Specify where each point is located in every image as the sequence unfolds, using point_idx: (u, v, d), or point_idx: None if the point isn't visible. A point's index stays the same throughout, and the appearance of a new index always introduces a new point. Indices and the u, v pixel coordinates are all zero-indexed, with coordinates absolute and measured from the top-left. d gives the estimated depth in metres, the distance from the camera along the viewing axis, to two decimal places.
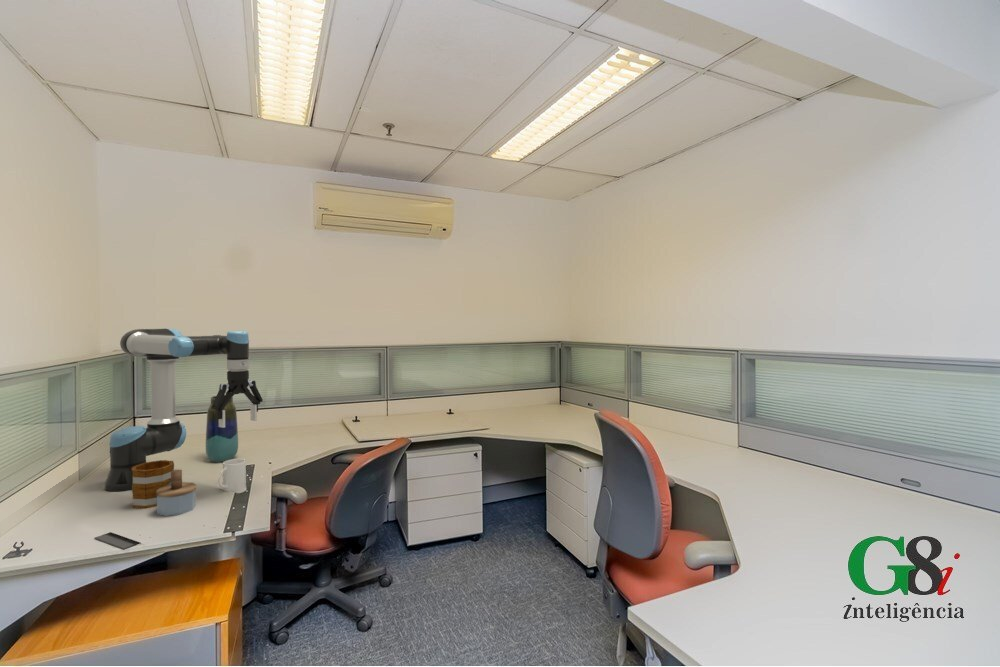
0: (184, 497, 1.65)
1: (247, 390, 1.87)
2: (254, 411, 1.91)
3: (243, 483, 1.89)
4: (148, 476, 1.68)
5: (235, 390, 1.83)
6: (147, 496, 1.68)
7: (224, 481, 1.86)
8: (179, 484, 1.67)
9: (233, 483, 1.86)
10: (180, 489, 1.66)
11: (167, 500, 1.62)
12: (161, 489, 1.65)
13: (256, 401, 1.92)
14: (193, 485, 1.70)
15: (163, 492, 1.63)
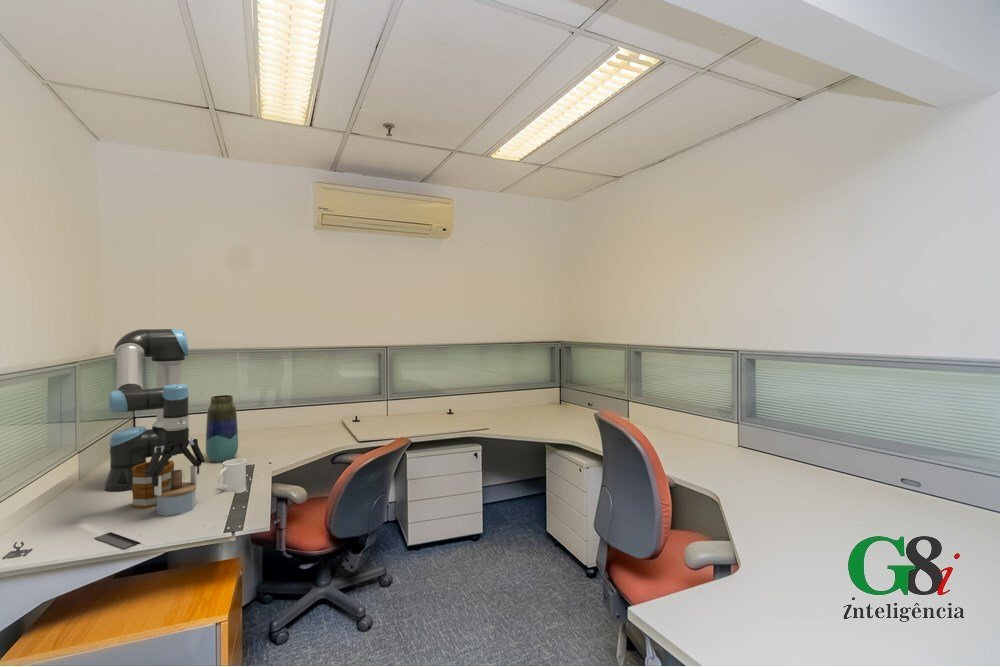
0: (184, 497, 1.65)
1: (186, 450, 1.68)
2: (194, 474, 1.72)
3: (243, 483, 1.89)
4: (148, 476, 1.68)
5: (172, 452, 1.64)
6: (147, 496, 1.68)
7: (224, 481, 1.86)
8: (179, 484, 1.67)
9: (233, 483, 1.86)
10: (180, 489, 1.66)
11: (167, 500, 1.62)
12: None
13: (197, 462, 1.72)
14: (193, 485, 1.70)
15: (163, 492, 1.63)
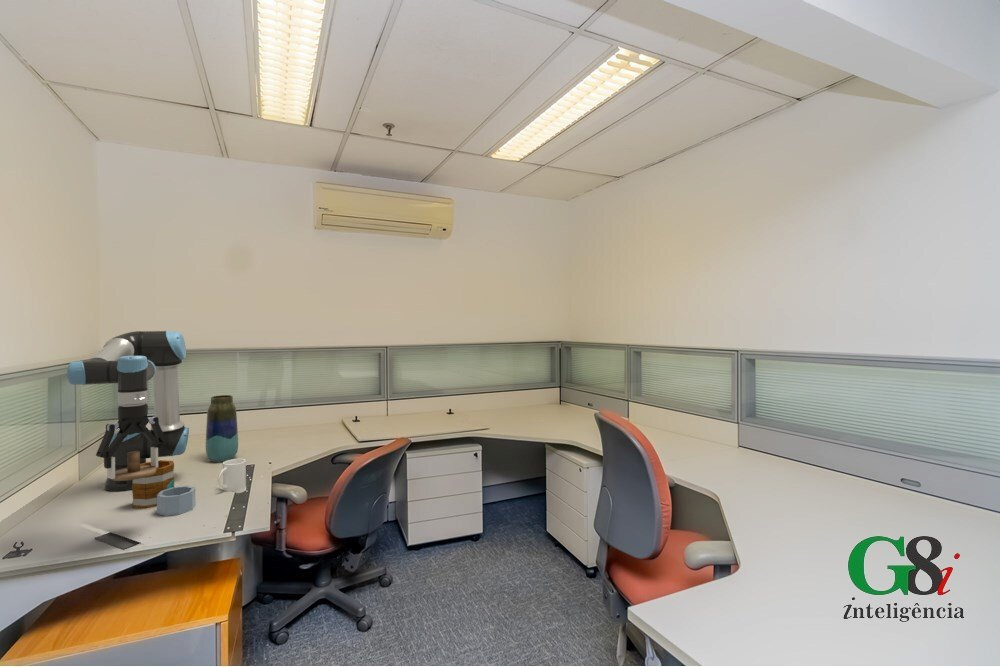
0: (184, 497, 1.65)
1: (145, 429, 1.51)
2: (155, 456, 1.55)
3: (243, 483, 1.89)
4: (148, 476, 1.68)
5: (128, 430, 1.47)
6: (147, 496, 1.68)
7: (224, 481, 1.86)
8: (137, 467, 1.49)
9: (233, 483, 1.86)
10: (138, 472, 1.49)
11: (167, 500, 1.62)
12: (116, 472, 1.48)
13: (157, 443, 1.55)
14: (153, 468, 1.53)
15: (117, 475, 1.46)
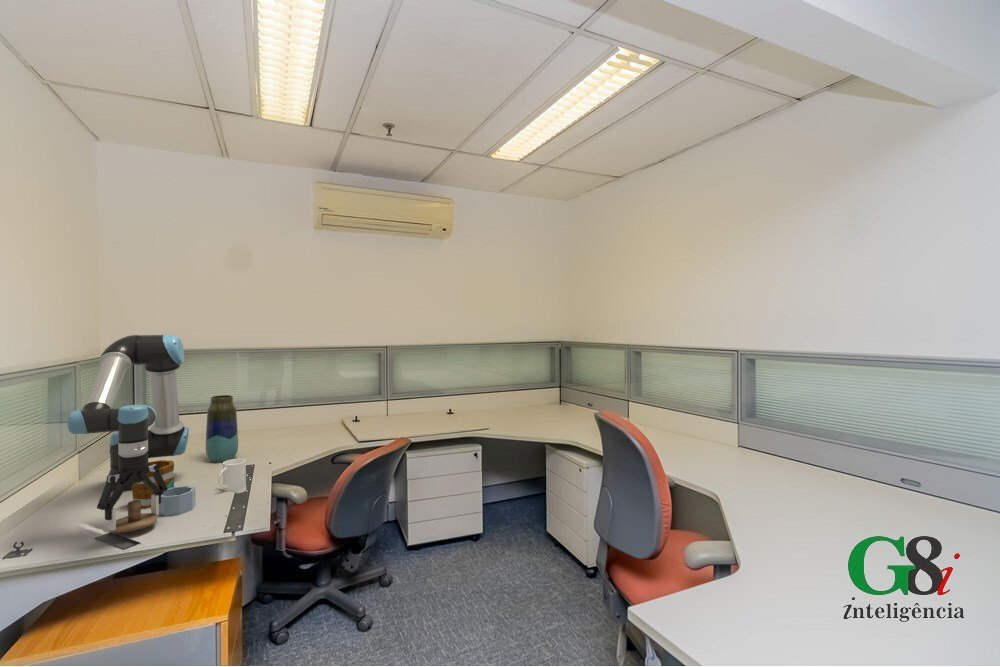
0: (184, 497, 1.65)
1: (146, 478, 1.52)
2: (155, 504, 1.55)
3: (243, 483, 1.89)
4: (148, 476, 1.68)
5: (128, 481, 1.47)
6: (147, 496, 1.68)
7: (224, 481, 1.86)
8: (137, 517, 1.50)
9: (233, 483, 1.86)
10: (138, 522, 1.49)
11: (167, 500, 1.62)
12: (117, 522, 1.49)
13: (158, 491, 1.56)
14: (153, 517, 1.53)
15: (118, 526, 1.46)
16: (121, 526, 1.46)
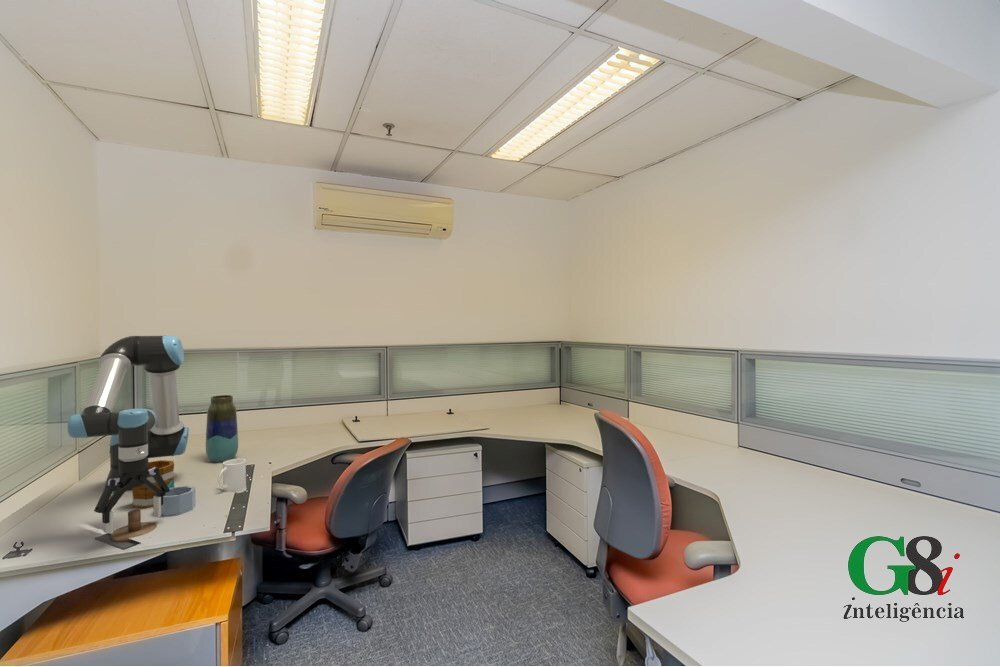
0: (184, 497, 1.65)
1: (146, 482, 1.52)
2: (157, 505, 1.56)
3: (243, 483, 1.89)
4: (148, 476, 1.68)
5: (128, 484, 1.47)
6: (147, 496, 1.68)
7: (224, 481, 1.86)
8: (137, 526, 1.50)
9: (233, 483, 1.86)
10: (138, 531, 1.49)
11: (167, 500, 1.62)
12: (117, 532, 1.49)
13: (160, 492, 1.56)
14: (153, 526, 1.53)
15: (118, 536, 1.46)
16: (121, 536, 1.46)
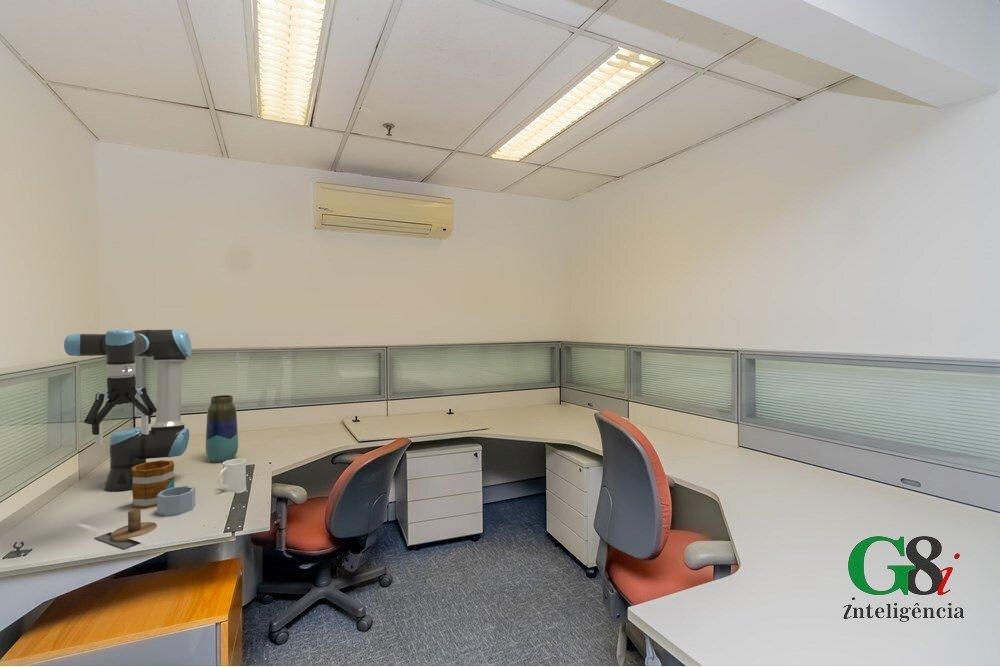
0: (184, 497, 1.65)
1: (134, 399, 1.59)
2: (145, 423, 1.63)
3: (243, 483, 1.89)
4: (148, 476, 1.68)
5: (116, 400, 1.54)
6: (147, 496, 1.68)
7: (224, 481, 1.86)
8: (137, 526, 1.50)
9: (233, 483, 1.86)
10: (138, 531, 1.49)
11: (167, 500, 1.62)
12: (117, 532, 1.49)
13: (148, 411, 1.64)
14: (153, 526, 1.53)
15: (118, 536, 1.46)
16: (121, 536, 1.46)
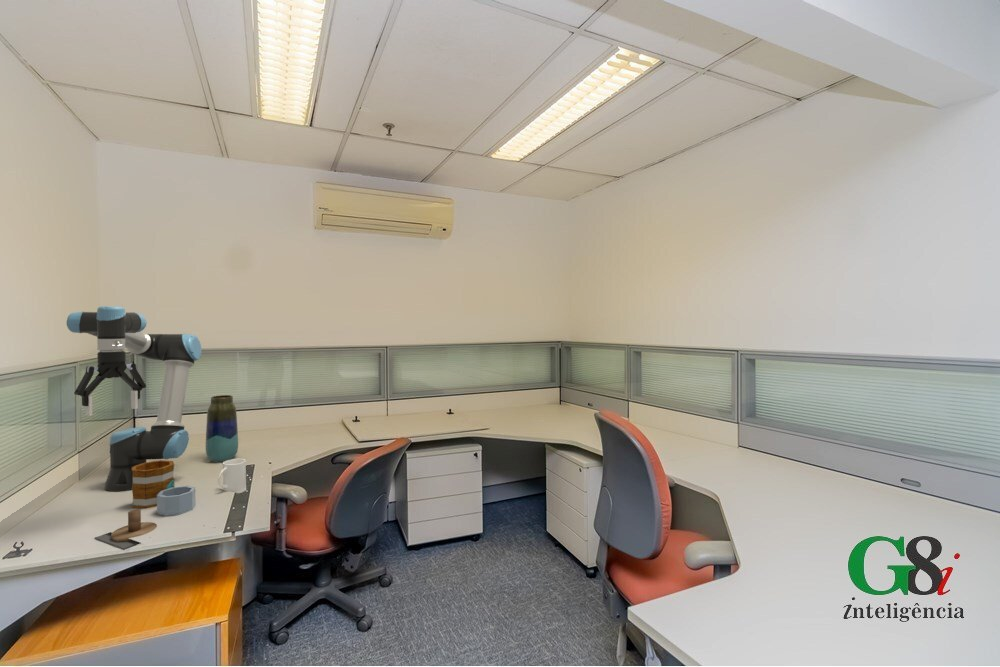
0: (184, 497, 1.65)
1: (123, 374, 1.65)
2: (134, 398, 1.69)
3: (243, 483, 1.89)
4: (148, 476, 1.68)
5: (106, 373, 1.60)
6: (147, 496, 1.68)
7: (224, 481, 1.86)
8: (137, 526, 1.50)
9: (233, 483, 1.86)
10: (138, 531, 1.49)
11: (167, 500, 1.62)
12: (117, 531, 1.49)
13: (137, 387, 1.69)
14: (153, 526, 1.53)
15: (118, 536, 1.46)
16: (121, 536, 1.46)
